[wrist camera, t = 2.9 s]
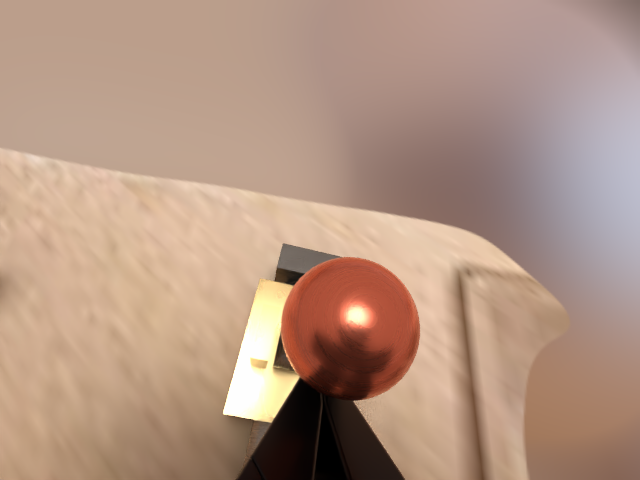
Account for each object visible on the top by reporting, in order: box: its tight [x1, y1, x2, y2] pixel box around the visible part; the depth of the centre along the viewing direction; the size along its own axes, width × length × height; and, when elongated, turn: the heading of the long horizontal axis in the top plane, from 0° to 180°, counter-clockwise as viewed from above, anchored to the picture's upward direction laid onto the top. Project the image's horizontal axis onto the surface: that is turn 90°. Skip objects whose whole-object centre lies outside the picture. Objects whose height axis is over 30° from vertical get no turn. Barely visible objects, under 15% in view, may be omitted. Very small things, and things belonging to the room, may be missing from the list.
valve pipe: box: [223, 244, 343, 467], centre depth 15 cm, size 21×6×6 cm, turn 170°
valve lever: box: [273, 257, 420, 401], centre depth 11 cm, size 3×3×13 cm
